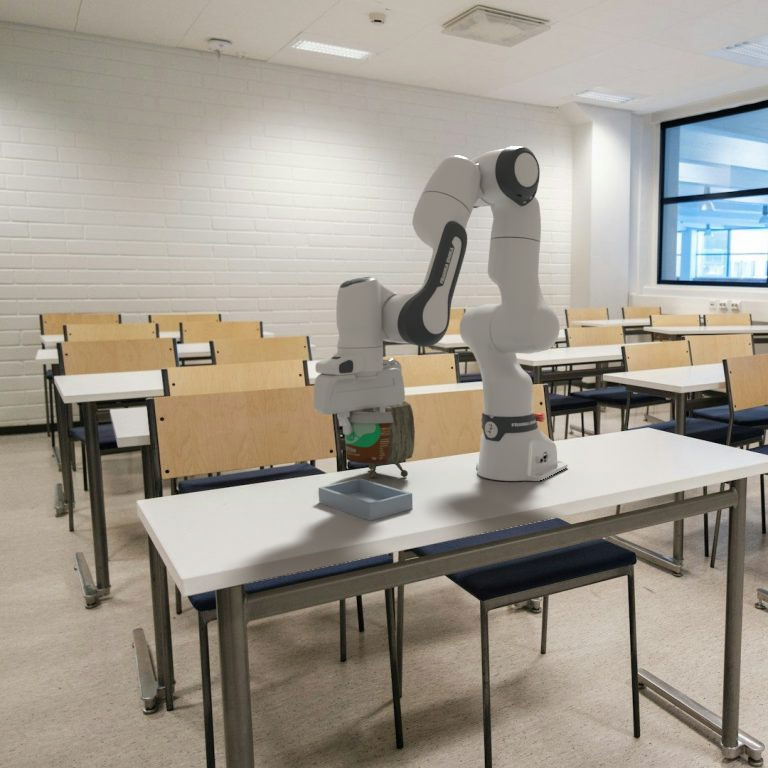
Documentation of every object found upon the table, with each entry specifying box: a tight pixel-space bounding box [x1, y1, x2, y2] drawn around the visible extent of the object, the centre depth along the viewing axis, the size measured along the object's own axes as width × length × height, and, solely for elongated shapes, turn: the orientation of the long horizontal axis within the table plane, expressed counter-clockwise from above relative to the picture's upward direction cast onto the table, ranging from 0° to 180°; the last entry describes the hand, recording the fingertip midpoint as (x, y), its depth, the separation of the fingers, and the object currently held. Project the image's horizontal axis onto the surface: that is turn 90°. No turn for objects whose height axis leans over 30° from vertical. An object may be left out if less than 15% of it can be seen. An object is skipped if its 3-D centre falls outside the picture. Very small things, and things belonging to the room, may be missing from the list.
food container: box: [344, 411, 393, 464], centre depth 136 cm, size 12×6×10 cm, turn 44°
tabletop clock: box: [356, 400, 416, 479], centre depth 160 cm, size 14×9×25 cm, turn 45°
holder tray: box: [318, 477, 414, 522], centre depth 138 cm, size 11×17×3 cm, turn 40°
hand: (362, 431), depth 137 cm, fingers closed on food container, 5 cm apart
